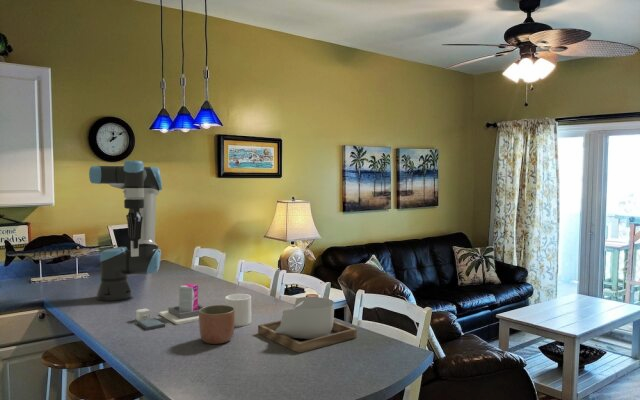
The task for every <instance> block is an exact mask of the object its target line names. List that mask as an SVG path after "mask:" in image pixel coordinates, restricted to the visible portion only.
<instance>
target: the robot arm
mask: <svg viewBox="0 0 640 400" xmlns="http://www.w3.org/2000/svg"><path fill="white" fill-rule="evenodd" d="M88 175H89V177H88V178H89V181H90V183H91V184H94V185H95V184H98V185H102V184H104V185H105V184H106V185H109V186H111V187H113V188H116V189H120V190H122V193H123V194H124V196H123V197H124V198H125V199H124V200H123V204H124V206H123V207H124V209H128V213H127V214H126V215H125V217H126V222H127V234H128V239H129V240H130V249H128V247H127V246H118V247H116V246H115V247H112V248H107V249H105V250H104V249H103V250H102V251H101V252H100V257H99V258H100V259H99V262H100V263H99V264H100V265H99V266H100V283H99V286H98V289H97V293H96V300H98V301H102V302H114V301H115V302H116V301H122V300H127V299H129V298H132V293H133V292H132V289H131V286H130V283H129V281H128V276H129V275H131V276H132V275H151V274H157V273H158V272H159V269H160V265H161V259H162V258H161V257H162V249H160V248H159V245H158V244H157V243H156V204H157V203H156V202H157V196H158V195H159V194H160V191H162V190H163V185H162V184H163V183H162V175H161V170H160V168H159V167H157V166H144V162H143V161H142V160H125V161H124V162H123V165H91V166H90V168H89V172H88Z"/></svg>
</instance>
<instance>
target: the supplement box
mask: <svg viewBox="0 0 640 400" xmlns="http://www.w3.org/2000/svg"><path fill="white" fill-rule="evenodd" d="M178 290H179V292H178V293H179V295H178V296H179V302H178V303H179V304H178V306H179V312H181V313H185V312H191V311H196V310H198V304H199V284H192V283H191V284H190V283H185V284H183V285H180V286H179V289H178Z"/></svg>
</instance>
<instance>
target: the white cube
mask: <svg viewBox="0 0 640 400" xmlns="http://www.w3.org/2000/svg"><path fill="white" fill-rule="evenodd" d="M135 312H136V313H135V314H136V315H135V316H136V317H135V319H136V321H139V320H145V319H150V318H151V314H150V313H151V311H150V309H148V308H142V309H141V308H140V309H136V311H135Z"/></svg>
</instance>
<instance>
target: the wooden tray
mask: <svg viewBox="0 0 640 400" xmlns="http://www.w3.org/2000/svg"><path fill="white" fill-rule="evenodd" d="M280 324H281V320H277V321H272V322H271V321H270V322H267V323H262V324H258V325H257V331H258V332H257V334H259V335H260V336H263V337H265V338H267V339H269V340H271V341H273V342H275V343H278V344H280V345H281V346H283V347H286V348H288V349H289V350H292V351H295V352H297V353H299V354H300V353H305V352H308V351H312V350H315V349H318V348H322V347H327V346H331V345H334V344H337V343H341V342H344V341H345V342H346V341H350V340H351V339H355V338H357V334H358V332H357V331H358V330H357V328H355V327H352V326H350V325H349V326H348V324H347V325H346V324H343V323H341V322H338V321H335V320H334V322H333V328H332V330H331V331H335V332H334V333H329V334H328V335H326V336H322V337H318V338H314V339H305V340H304V341H299V340H296V339H295V338H292V337H287V336H285V335H283V334H279V333H275V330H276V329H277V328H278V327H279V326H280Z"/></svg>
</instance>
